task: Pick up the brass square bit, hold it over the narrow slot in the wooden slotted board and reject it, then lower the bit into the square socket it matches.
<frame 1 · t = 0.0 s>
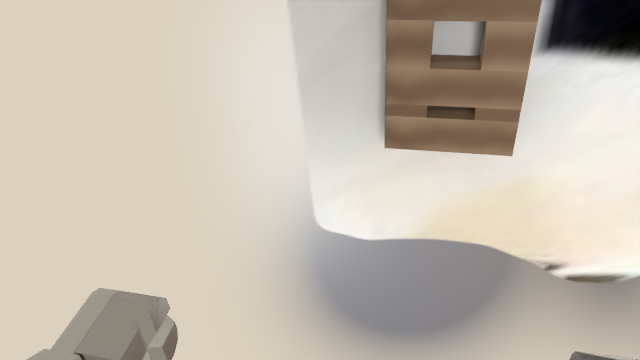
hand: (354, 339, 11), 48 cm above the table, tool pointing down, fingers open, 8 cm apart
wooden slotted board: (454, 64, 57), on the table
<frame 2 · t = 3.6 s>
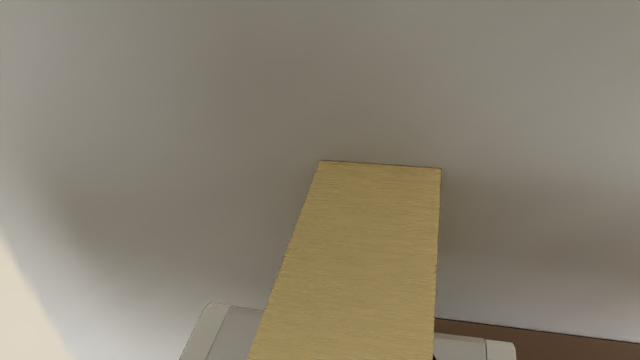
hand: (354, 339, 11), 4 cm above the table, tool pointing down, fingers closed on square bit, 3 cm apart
square bit: (378, 211, 14), on the table, touching gripper
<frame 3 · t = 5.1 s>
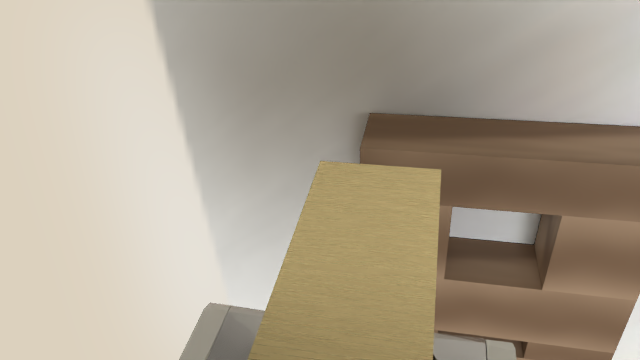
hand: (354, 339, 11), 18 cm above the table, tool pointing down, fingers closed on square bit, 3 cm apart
square bit: (379, 211, 14), point 13 cm above the table, touching gripper
wooden slotted board: (486, 253, 31), on the table
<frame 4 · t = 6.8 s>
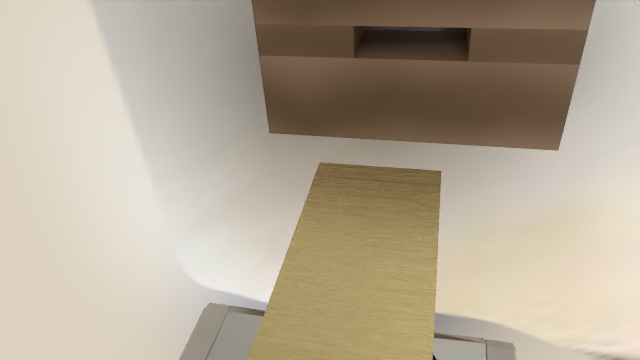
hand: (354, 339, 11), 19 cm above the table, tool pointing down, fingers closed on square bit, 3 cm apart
square bit: (378, 213, 14), point 15 cm above the table, touching gripper
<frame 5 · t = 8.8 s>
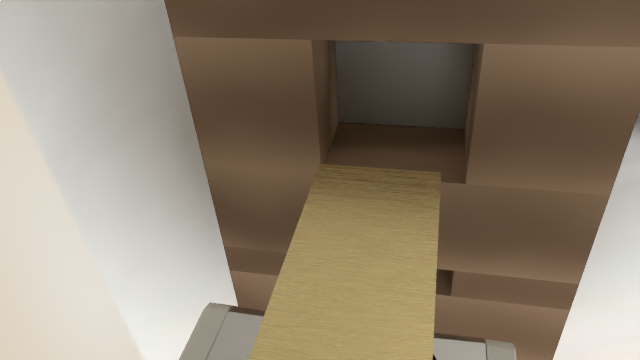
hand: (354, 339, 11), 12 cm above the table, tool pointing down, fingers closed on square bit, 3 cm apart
square bit: (378, 214, 14), point 8 cm above the table, touching gripper
wooden slotted board: (399, 146, 22), on the table
when the fingers open (6 cm above the table, at t = 10.1 s): square bit drops 2 cm, resting in wooden slotted board.
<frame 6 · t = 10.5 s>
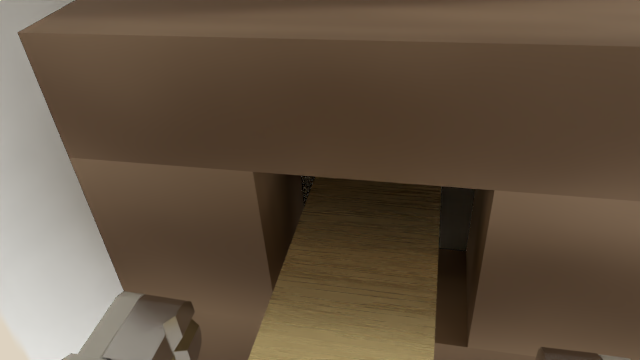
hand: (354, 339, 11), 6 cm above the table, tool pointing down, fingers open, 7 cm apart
square bit: (385, 178, 15), resting in wooden slotted board
wooden slotted board: (383, 265, 17), on the table
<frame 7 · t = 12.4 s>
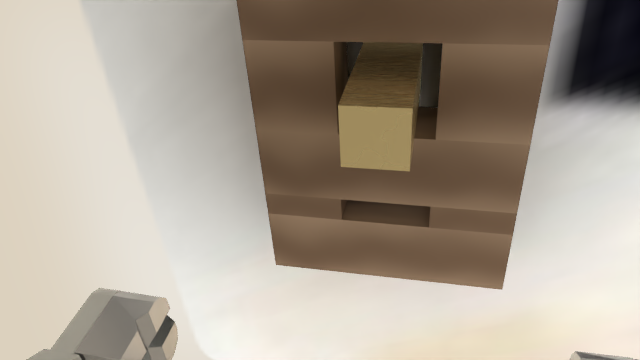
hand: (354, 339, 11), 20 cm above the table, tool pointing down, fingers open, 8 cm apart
square bit: (393, 64, 28), resting in wooden slotted board
wooden slotted board: (392, 121, 30), on the table
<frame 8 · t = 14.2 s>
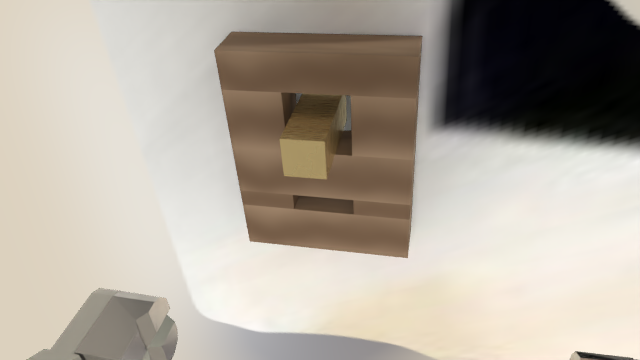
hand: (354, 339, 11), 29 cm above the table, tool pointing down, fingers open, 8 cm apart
square bit: (327, 102, 41), resting in wooden slotted board
wooden slotted board: (329, 140, 43), on the table
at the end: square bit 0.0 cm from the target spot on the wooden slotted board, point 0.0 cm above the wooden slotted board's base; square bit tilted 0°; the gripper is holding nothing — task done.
